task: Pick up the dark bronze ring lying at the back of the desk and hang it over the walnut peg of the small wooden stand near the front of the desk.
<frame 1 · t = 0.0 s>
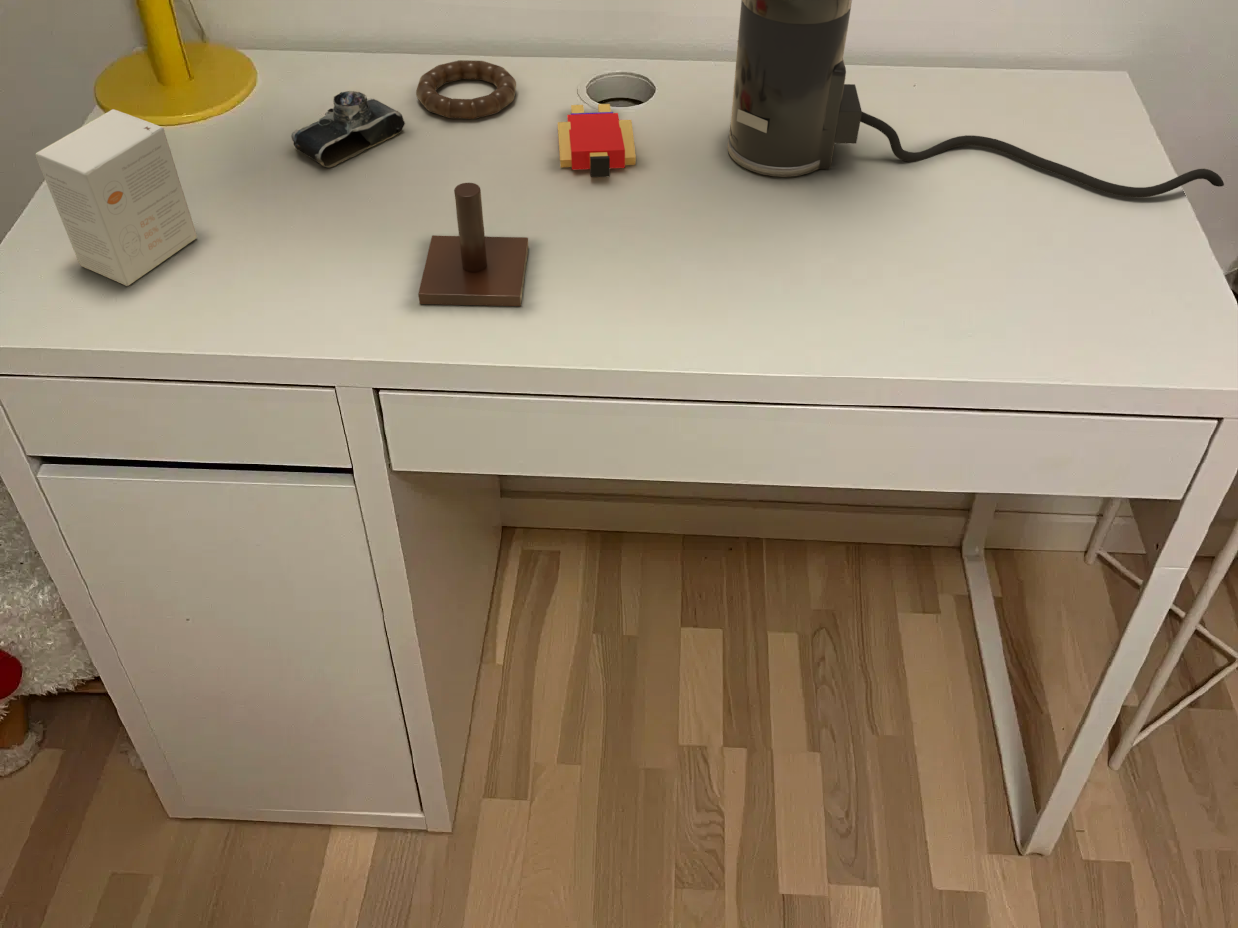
camera: (349, 144, 107), on the table
small box: (140, 255, 95), on the table
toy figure: (595, 149, 107), on the table
ring: (466, 89, 113), point 1 cm above the table
post: (475, 275, 93), on the table
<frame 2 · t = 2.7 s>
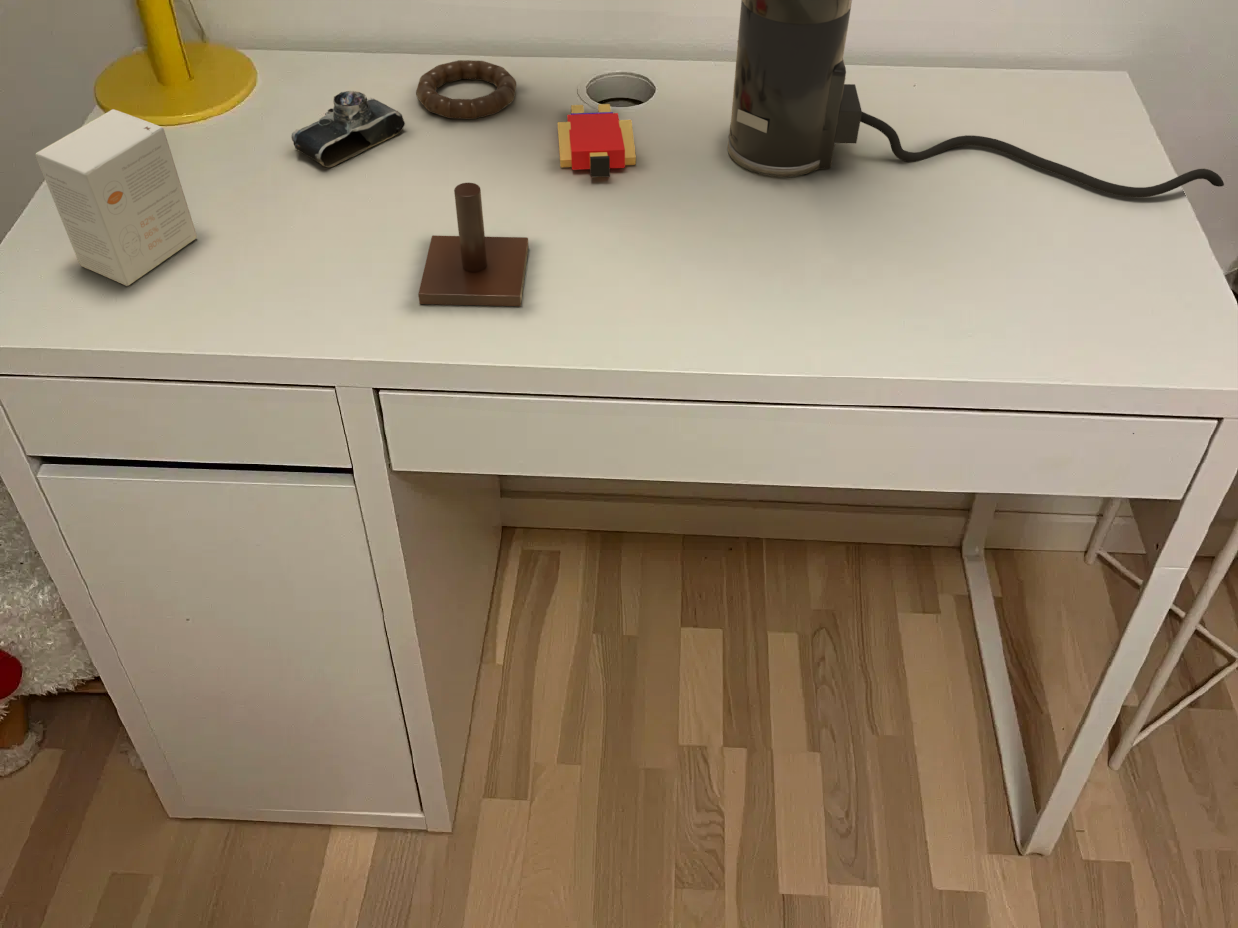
nothing on the table moved.
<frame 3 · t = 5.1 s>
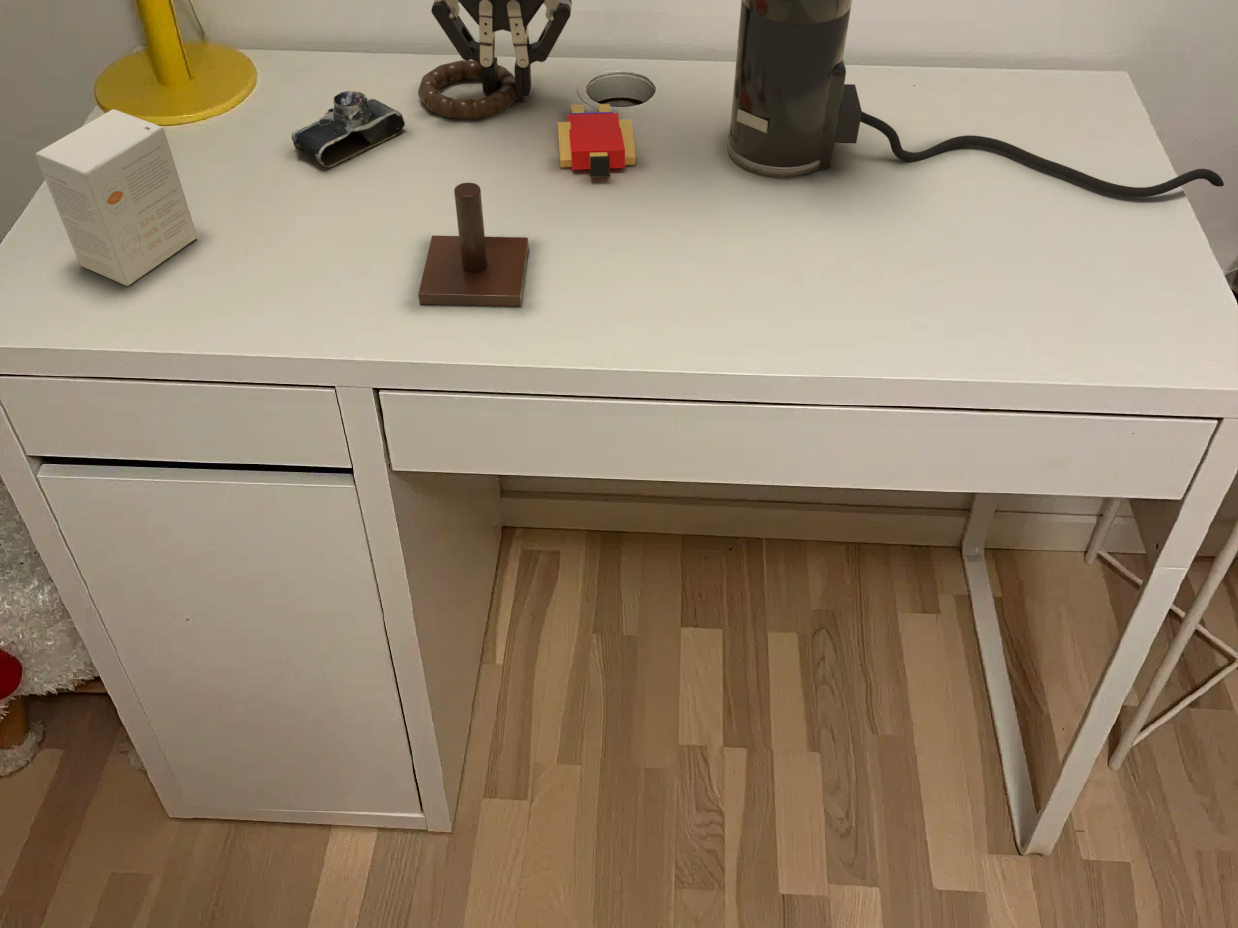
hand: (508, 97, 113), 0 cm above the table, tool pointing down, fingers closed on ring, 2 cm apart
ring: (468, 89, 113), point 1 cm above the table, touching gripper
everything else where it was.
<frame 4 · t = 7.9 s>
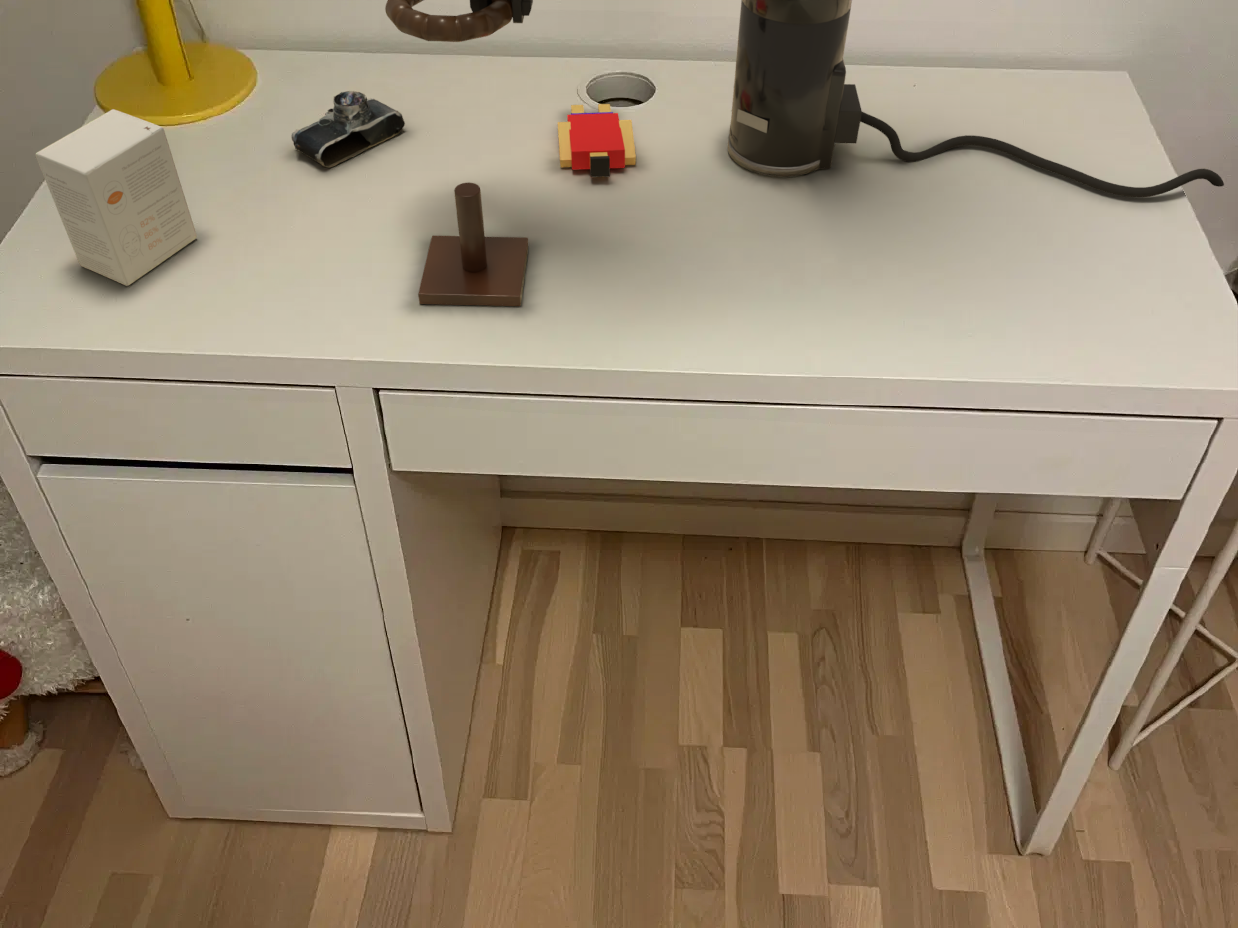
hand: (502, 17, 87), 17 cm above the table, tool pointing down, fingers closed on ring
ring: (451, 5, 87), point 18 cm above the table, touching gripper
everything else where it was.
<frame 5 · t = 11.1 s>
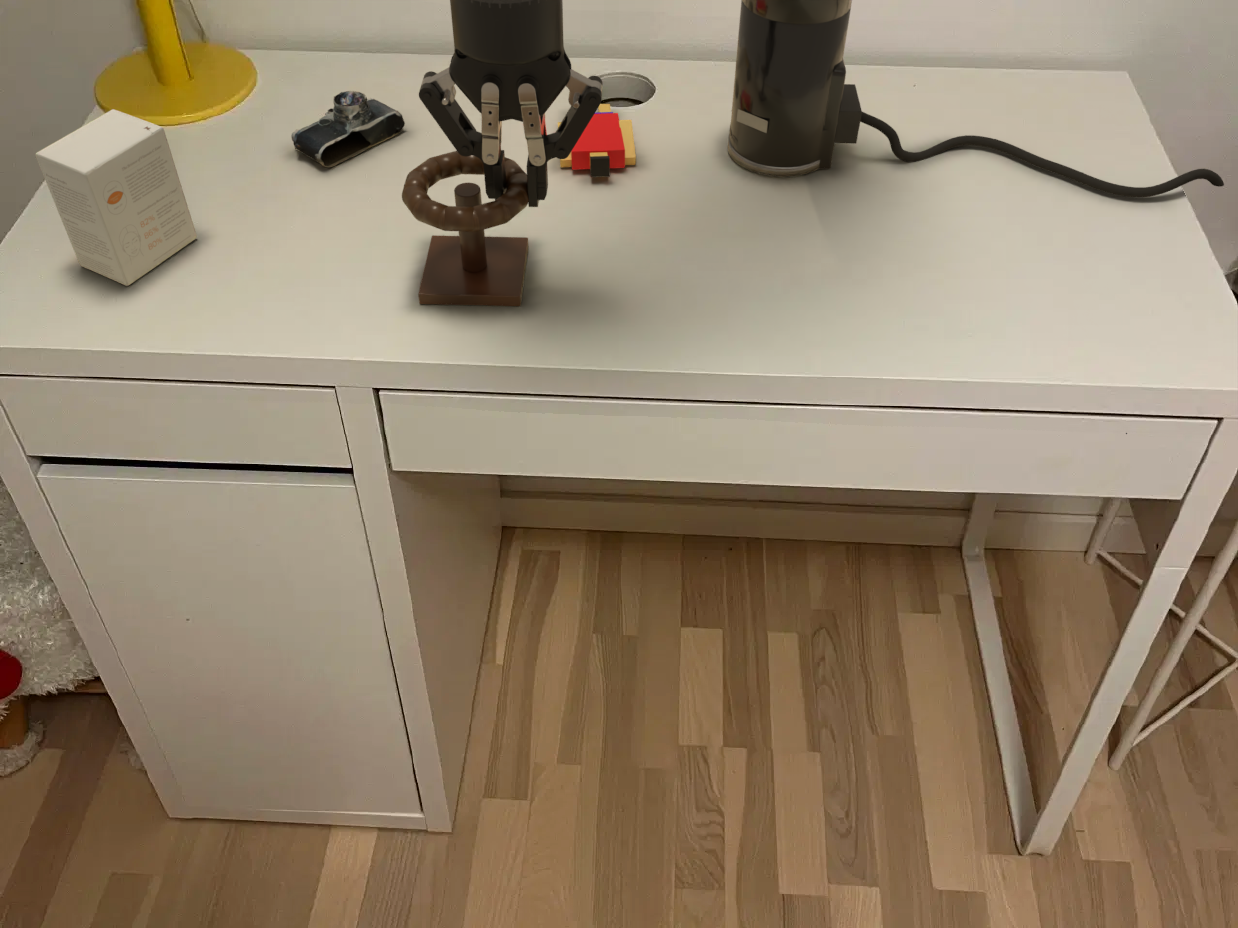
hand: (518, 200, 88), 7 cm above the table, tool pointing down, fingers closed on ring
ring: (466, 190, 87), point 8 cm above the table, touching gripper
everything else where it was.
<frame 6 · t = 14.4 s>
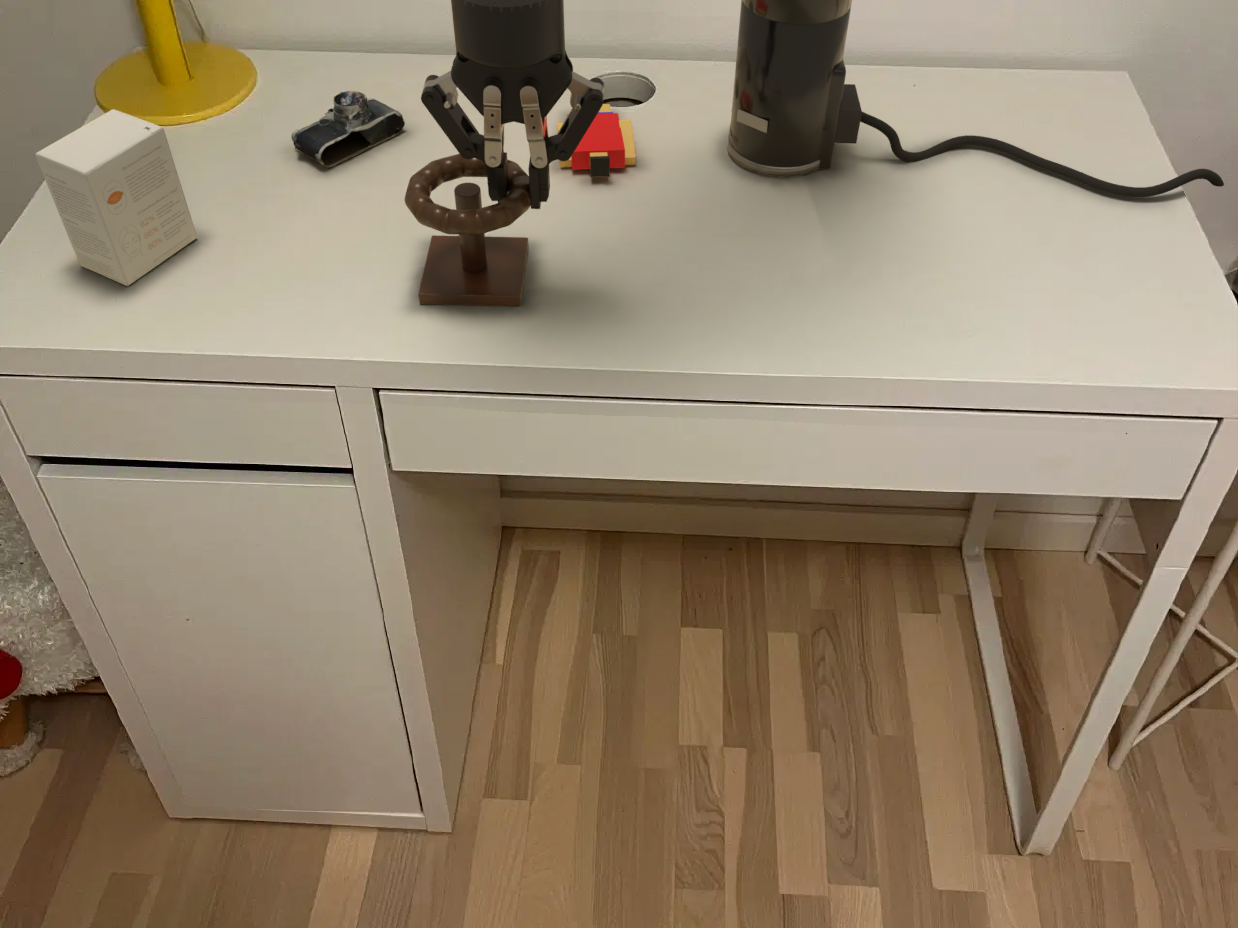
hand: (520, 202, 88), 7 cm above the table, tool pointing down, fingers closed on ring
ring: (469, 192, 88), point 8 cm above the table, touching gripper
everything else where it was.
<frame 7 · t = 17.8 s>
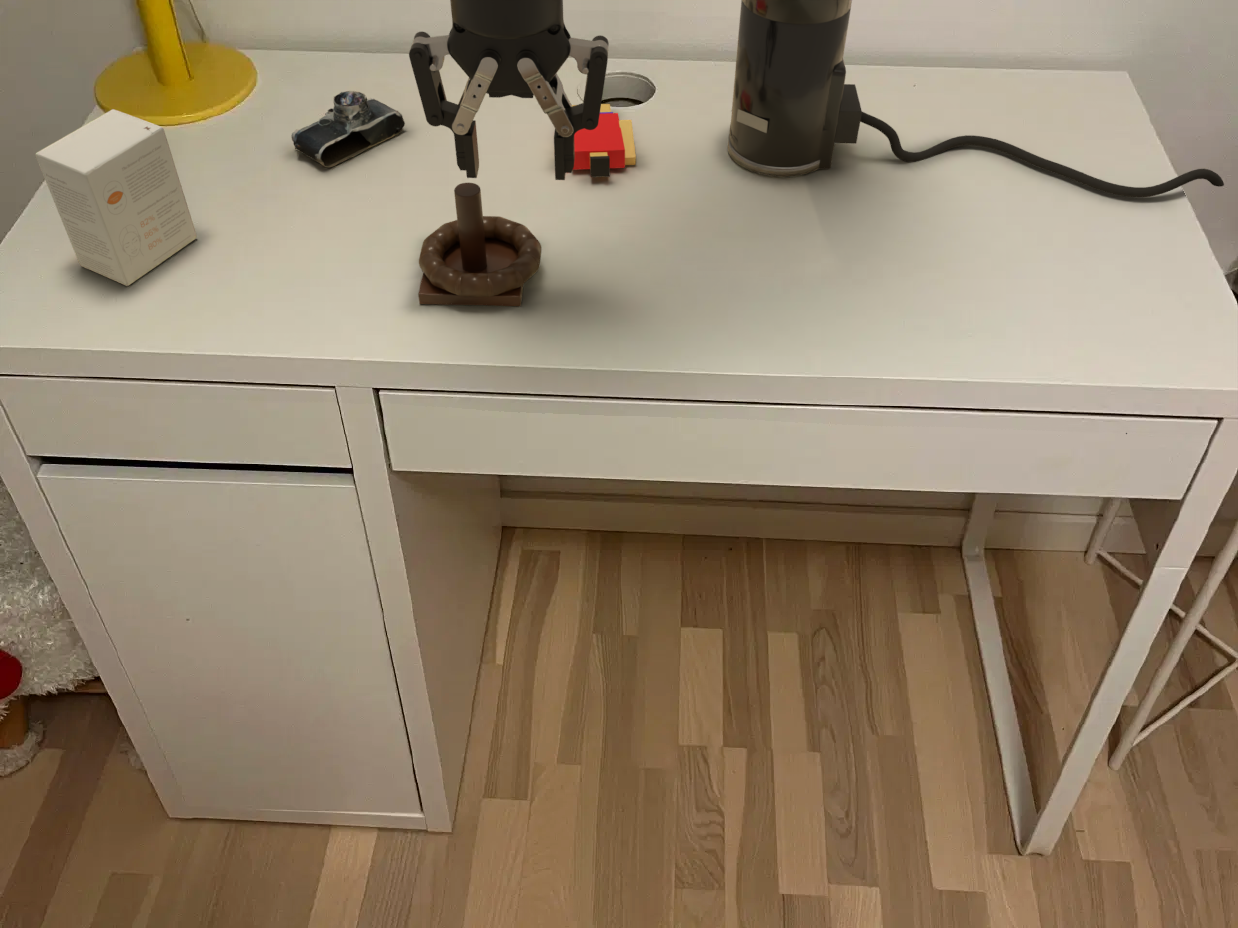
hand: (517, 173, 86), 10 cm above the table, tool pointing down, fingers open, 6 cm apart
ring: (480, 255, 92), point 2 cm above the table, touching post
everything else where it was.
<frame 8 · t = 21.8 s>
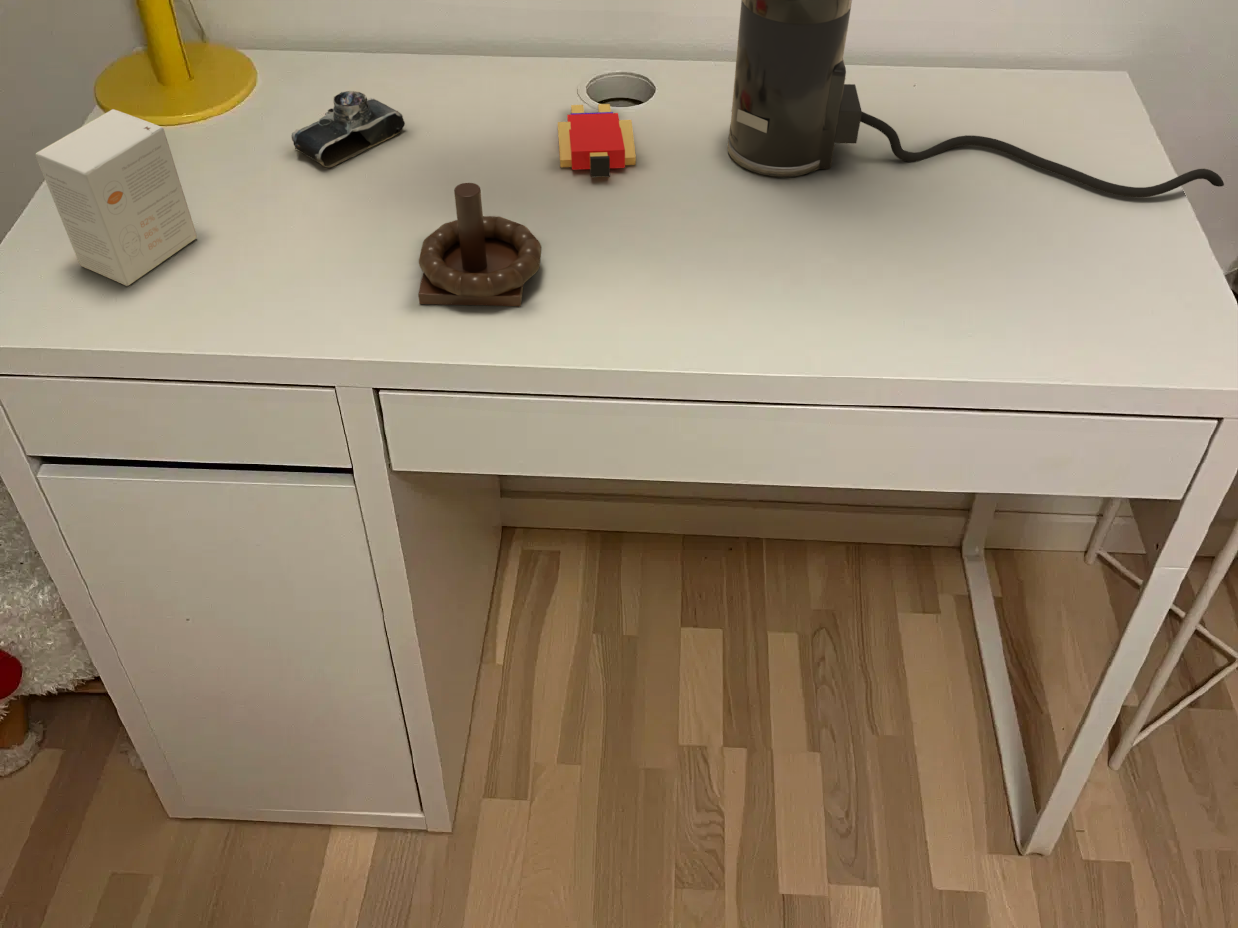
nothing on the table moved.
at the end: ring 0.6 cm from the post (horizontally); ring point 1.9 cm above the table; the gripper is holding nothing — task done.
